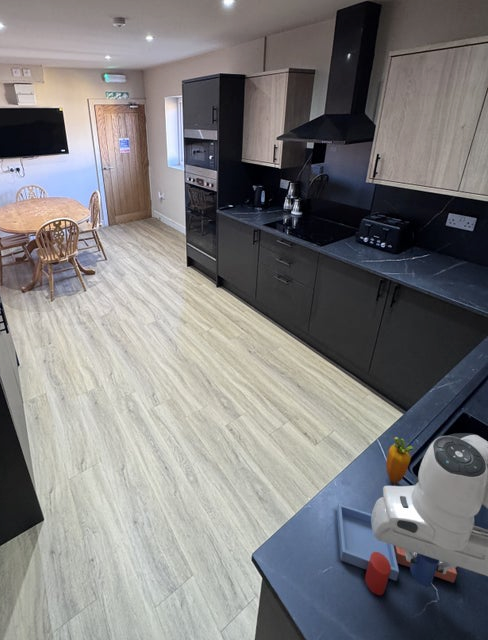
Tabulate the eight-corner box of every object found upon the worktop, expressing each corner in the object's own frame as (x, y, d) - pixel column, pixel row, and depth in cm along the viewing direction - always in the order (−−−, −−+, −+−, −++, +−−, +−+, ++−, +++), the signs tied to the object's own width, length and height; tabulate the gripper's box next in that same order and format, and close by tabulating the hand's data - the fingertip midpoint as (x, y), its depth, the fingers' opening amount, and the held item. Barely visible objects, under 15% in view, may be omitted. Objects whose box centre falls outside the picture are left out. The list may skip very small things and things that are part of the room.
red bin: (436, 529, 76) (439, 520, 75) (453, 583, 67) (457, 574, 66) (384, 512, 80) (387, 504, 79) (395, 562, 70) (397, 553, 70)
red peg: (382, 576, 68) (388, 555, 66) (386, 598, 65) (392, 577, 63) (363, 569, 69) (369, 548, 67) (366, 590, 66) (372, 569, 64)
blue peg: (428, 567, 66) (435, 545, 64) (434, 589, 63) (442, 567, 61) (407, 560, 68) (414, 538, 65) (413, 582, 64) (420, 560, 62)
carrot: (407, 487, 85) (419, 445, 80) (394, 495, 83) (405, 452, 79) (390, 470, 89) (400, 429, 85) (377, 477, 88) (387, 435, 83)
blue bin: (385, 527, 77) (387, 519, 76) (396, 581, 68) (399, 572, 67) (336, 511, 80) (338, 503, 79) (340, 560, 71) (342, 551, 70)
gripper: (499, 517, 59) (480, 564, 64) (374, 482, 66) (365, 527, 70) (520, 558, 54) (497, 607, 58) (381, 516, 60) (370, 562, 65)
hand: (424, 563), depth 64 cm, fingers closed on blue peg, 3 cm apart
